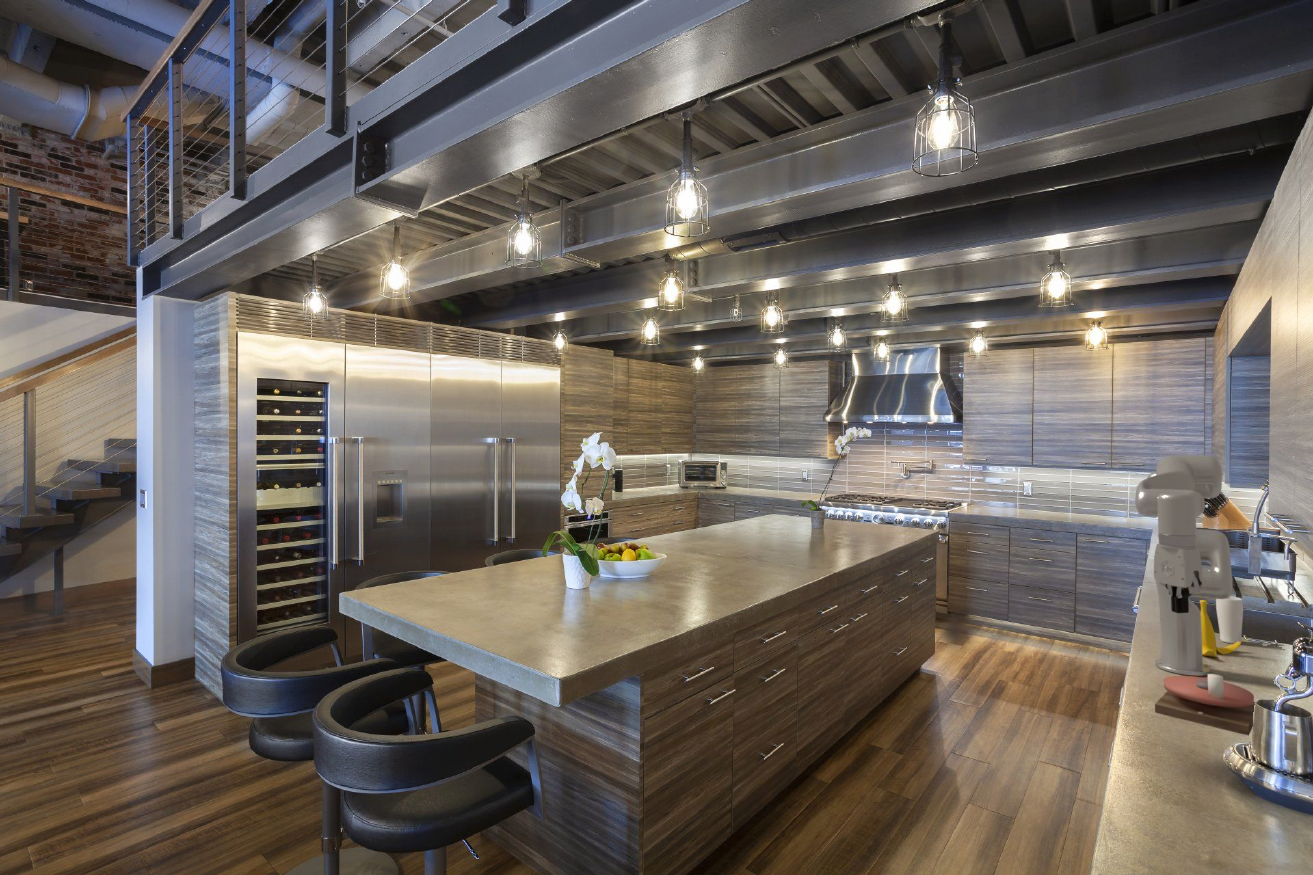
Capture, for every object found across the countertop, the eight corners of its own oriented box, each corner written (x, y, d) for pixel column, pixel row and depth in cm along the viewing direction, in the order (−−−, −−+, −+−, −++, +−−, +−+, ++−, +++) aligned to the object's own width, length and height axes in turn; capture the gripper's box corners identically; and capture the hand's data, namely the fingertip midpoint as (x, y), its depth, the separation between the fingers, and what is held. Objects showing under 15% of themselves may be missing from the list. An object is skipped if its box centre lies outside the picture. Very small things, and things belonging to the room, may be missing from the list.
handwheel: (1174, 700, 153) (1173, 673, 153) (1156, 677, 168) (1155, 653, 169) (1266, 712, 146) (1265, 683, 146) (1238, 687, 161) (1237, 661, 161)
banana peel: (1165, 642, 213) (1164, 593, 214) (1241, 651, 203) (1239, 600, 203) (1171, 656, 200) (1169, 603, 200) (1252, 666, 189) (1250, 611, 189)
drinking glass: (1250, 645, 209) (1248, 599, 209) (1229, 645, 209) (1227, 600, 209) (1231, 639, 216) (1230, 595, 216) (1212, 639, 216) (1210, 595, 216)
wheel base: (1173, 691, 170) (1173, 676, 170) (1261, 711, 157) (1260, 694, 157) (1155, 712, 157) (1154, 695, 157) (1248, 735, 144) (1247, 716, 144)
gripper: (1139, 536, 168) (1142, 605, 168) (1189, 546, 153) (1192, 621, 153) (1166, 535, 168) (1169, 603, 168) (1218, 545, 153) (1221, 619, 153)
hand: (1180, 611), depth 160 cm, fingers closed
